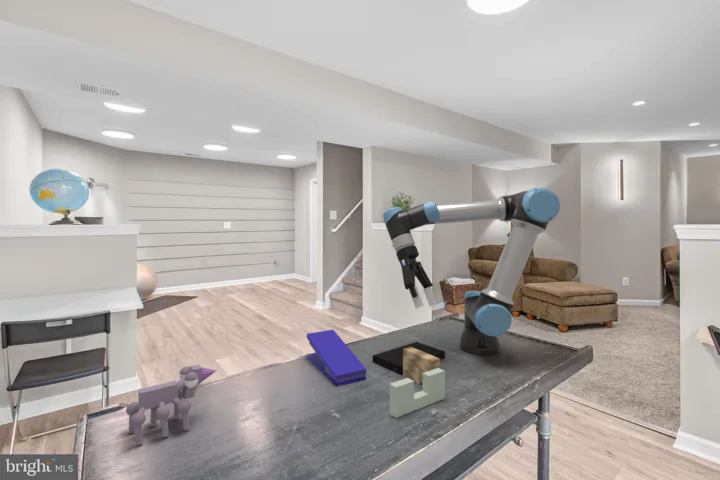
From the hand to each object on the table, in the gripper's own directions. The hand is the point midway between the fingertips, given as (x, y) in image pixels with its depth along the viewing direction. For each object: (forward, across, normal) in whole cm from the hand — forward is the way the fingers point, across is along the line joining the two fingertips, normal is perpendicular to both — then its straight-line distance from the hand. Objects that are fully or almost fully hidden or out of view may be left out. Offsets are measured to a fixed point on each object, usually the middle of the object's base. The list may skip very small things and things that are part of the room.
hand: (427, 306), depth 119 cm
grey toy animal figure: (+11, +58, -52) cm, 79 cm away
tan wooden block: (+22, +6, -8) cm, 24 cm away
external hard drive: (+16, -9, -17) cm, 25 cm away
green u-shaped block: (+26, +20, -6) cm, 33 cm away
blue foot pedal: (+10, +10, -37) cm, 39 cm away
